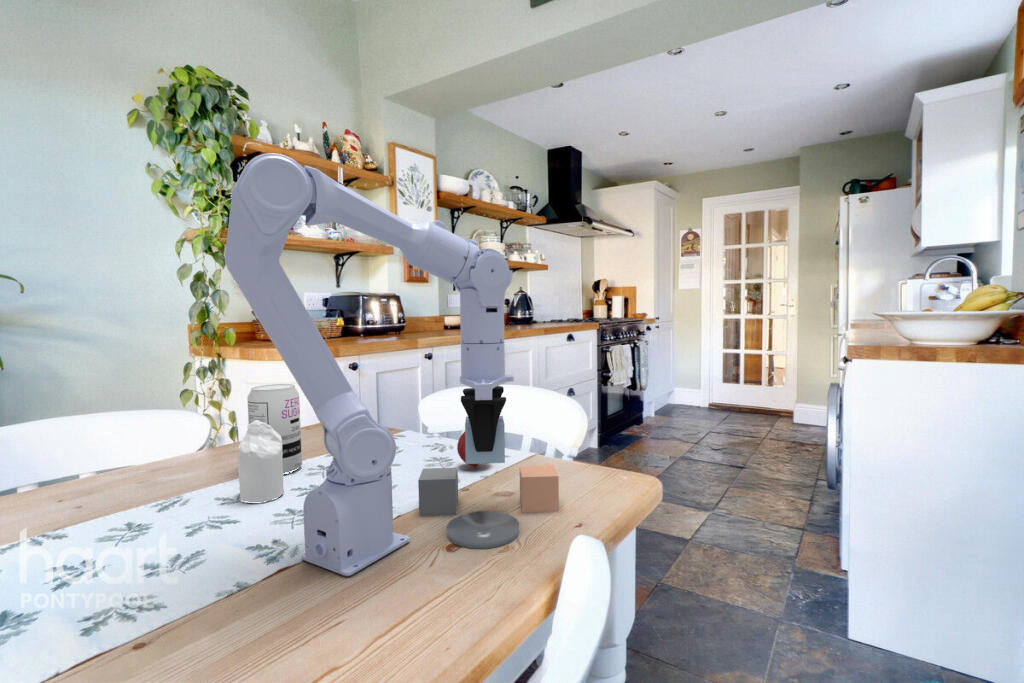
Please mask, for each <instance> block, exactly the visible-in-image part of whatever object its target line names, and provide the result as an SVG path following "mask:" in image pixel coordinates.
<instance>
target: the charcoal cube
mask: <svg viewBox="0 0 1024 683" xmlns="http://www.w3.org/2000/svg"><path fill="white" fill-rule="evenodd" d="M458 470H459V469H458V467H433V468H429V467H427V468H422V470H421V472H420V476H419V478H418V479H417V480H418V481H417V482H418V484H417V486H418V510H419V512H418V513H419V514H418V515H419V517H420V516H421V517H423V516H424V517H425V516H443V515H444V516H447V515H449V516H450V515H457V512H458V506H459V475H458V473H459V471H458Z"/></svg>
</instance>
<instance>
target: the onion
mask: <svg viewBox="0 0 1024 683" xmlns="http://www.w3.org/2000/svg"><path fill="white" fill-rule="evenodd" d="M456 446H457V448H456V450H457V454H458V457H459V458H460V459H461V460H462V462H464V463H465V464H466V456H465V431H463V433H462V434H461V435H460V437H459V439H458V442H457V445H456ZM467 465H468V466H470V467H471V468H477V467H478V466H480V464H467Z"/></svg>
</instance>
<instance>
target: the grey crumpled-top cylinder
mask: <svg viewBox="0 0 1024 683" xmlns="http://www.w3.org/2000/svg"><path fill="white" fill-rule="evenodd" d="M282 455H283V453H282V439H281V436H280V435H279V434H278V433H277V432H276V431H274V429H273V428H272V427H271V426H270V425H267V424H266V423H263V422H260V421H258V420H256V421H253V422H252V423H250V424H249V423H248V425H247V431H246V432H245V435H244V436H243V437H242V439H241V441H240V442H239V445H238V447H237V461H238V462H237V465H238V482H239V495H240V496H239V498H240V501H241V500H243V501H249V502H264V501H268V500H272V499H274V498H277V497H279V496H281V495H282V494H283V493H284V494H285V490H284V489H285V488H284V475H283V465H282ZM284 494H283V495H284ZM283 495H282V496H283ZM282 496H281V497H282Z"/></svg>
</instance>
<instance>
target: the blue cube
mask: <svg viewBox="0 0 1024 683" xmlns="http://www.w3.org/2000/svg"><path fill="white" fill-rule="evenodd" d="M464 432H465V456H466V463H465V465H468V464H479V465H480V464H505V463H506V460H505V459H506V457H505V456H506V454H505V453H506V452H505V449H506V447H505V444H506V442H505V441H506V440H505V421H504V416H503V415H500V417H499V420H498V424H497V430H496V437H495V443H494V447H493V451H492V452H476V449H475V446H474V441H473V436H472V430H471V425H470V421H469V418H468V416H466V417H465V423H464Z"/></svg>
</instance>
